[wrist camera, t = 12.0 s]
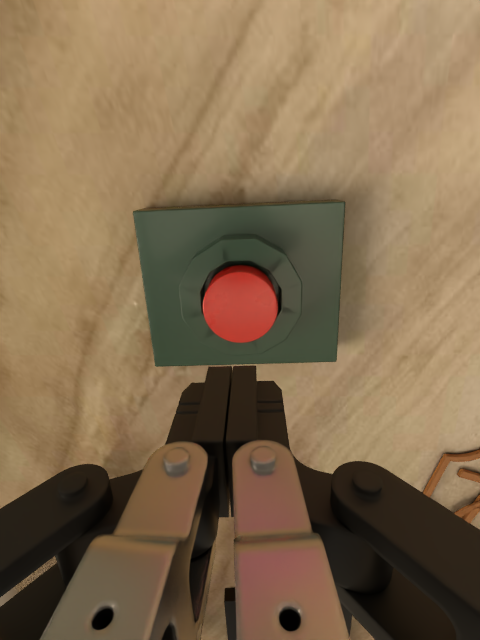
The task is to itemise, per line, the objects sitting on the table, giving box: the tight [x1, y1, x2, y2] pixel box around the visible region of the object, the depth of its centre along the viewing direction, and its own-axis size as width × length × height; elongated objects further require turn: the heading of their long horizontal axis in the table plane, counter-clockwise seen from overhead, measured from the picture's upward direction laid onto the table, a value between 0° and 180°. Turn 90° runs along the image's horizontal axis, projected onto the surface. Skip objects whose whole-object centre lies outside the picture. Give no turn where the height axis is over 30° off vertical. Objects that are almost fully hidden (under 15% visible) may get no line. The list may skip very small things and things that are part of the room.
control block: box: [133, 200, 345, 367], centre depth 22 cm, size 12×10×4 cm
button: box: [203, 265, 278, 343], centre depth 20 cm, size 4×4×2 cm
